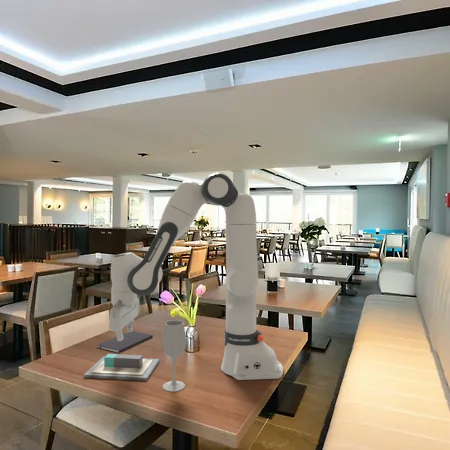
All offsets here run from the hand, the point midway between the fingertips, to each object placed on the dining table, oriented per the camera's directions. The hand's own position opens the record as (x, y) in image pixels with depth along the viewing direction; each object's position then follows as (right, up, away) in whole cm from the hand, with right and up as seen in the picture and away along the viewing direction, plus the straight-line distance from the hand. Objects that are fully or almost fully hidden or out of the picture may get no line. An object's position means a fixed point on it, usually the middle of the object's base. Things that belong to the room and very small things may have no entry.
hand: (125, 335), depth 132 cm
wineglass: (+19, -13, -12) cm, 26 cm away
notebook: (-8, -12, +28) cm, 31 cm away
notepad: (-1, -12, 0) cm, 12 cm away
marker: (-1, -11, 0) cm, 11 cm away
